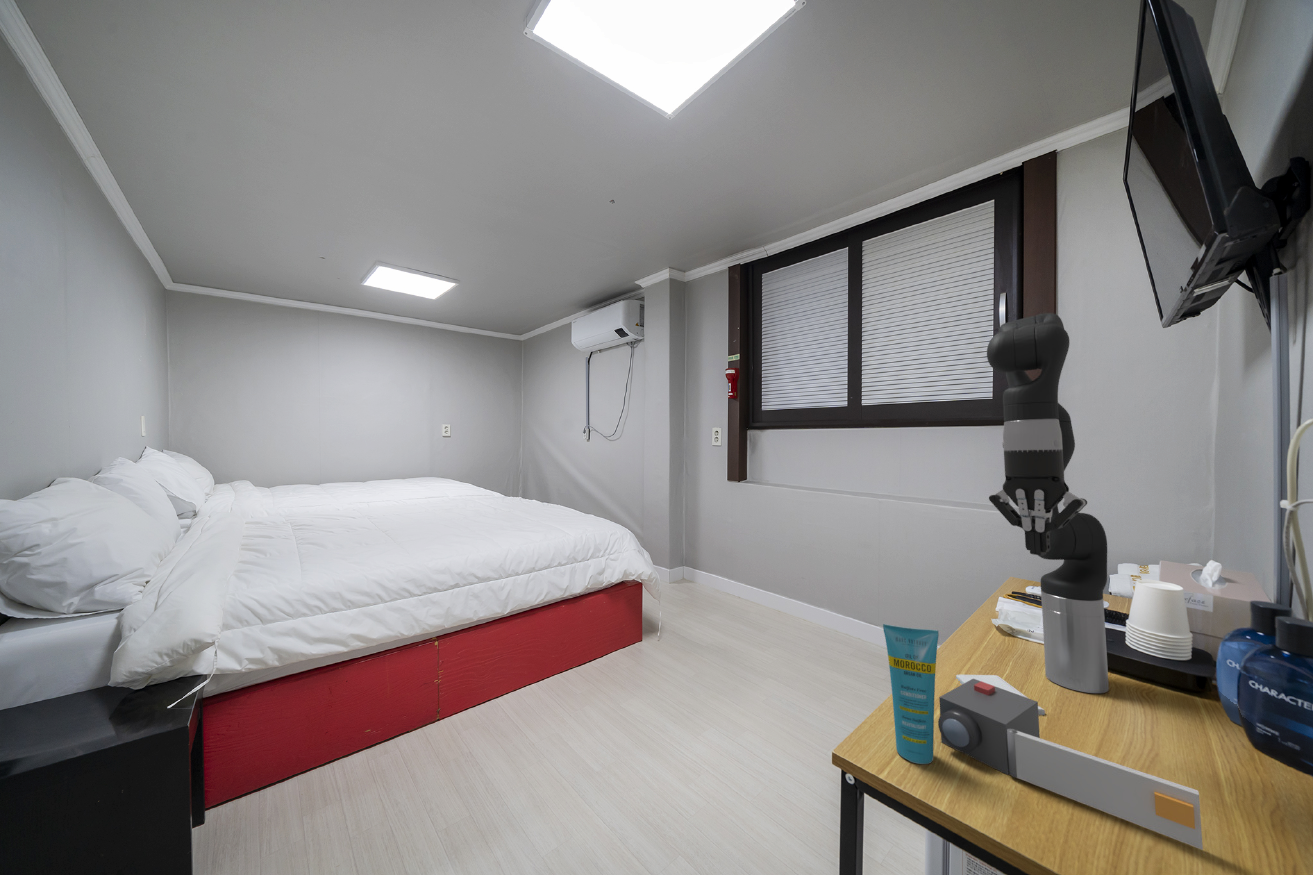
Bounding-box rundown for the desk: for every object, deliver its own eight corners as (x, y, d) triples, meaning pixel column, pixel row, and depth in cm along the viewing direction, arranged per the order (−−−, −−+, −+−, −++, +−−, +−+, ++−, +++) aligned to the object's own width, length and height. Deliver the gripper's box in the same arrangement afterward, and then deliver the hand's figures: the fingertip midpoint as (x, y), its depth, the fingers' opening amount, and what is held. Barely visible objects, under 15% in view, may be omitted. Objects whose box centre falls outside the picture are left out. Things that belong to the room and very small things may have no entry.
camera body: (975, 720, 78) (973, 673, 79) (1040, 748, 71) (1037, 696, 71) (933, 747, 71) (931, 696, 72) (1000, 781, 64) (997, 723, 64)
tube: (889, 758, 69) (884, 629, 70) (886, 740, 73) (881, 618, 74) (947, 770, 66) (941, 635, 67) (940, 750, 71) (934, 623, 72)
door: (1201, 844, 53) (1198, 789, 53) (1203, 853, 51) (1199, 797, 52) (1010, 770, 65) (1007, 727, 65) (1007, 776, 64) (1005, 732, 64)
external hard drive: (998, 683, 92) (1045, 718, 80) (955, 682, 93) (995, 716, 80) (998, 675, 92) (1045, 708, 80) (955, 674, 93) (994, 707, 80)
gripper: (1093, 446, 72) (1100, 558, 71) (996, 449, 83) (1001, 545, 82) (1075, 447, 68) (1082, 565, 67) (976, 449, 79) (981, 550, 78)
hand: (1037, 554), depth 75 cm, fingers closed
